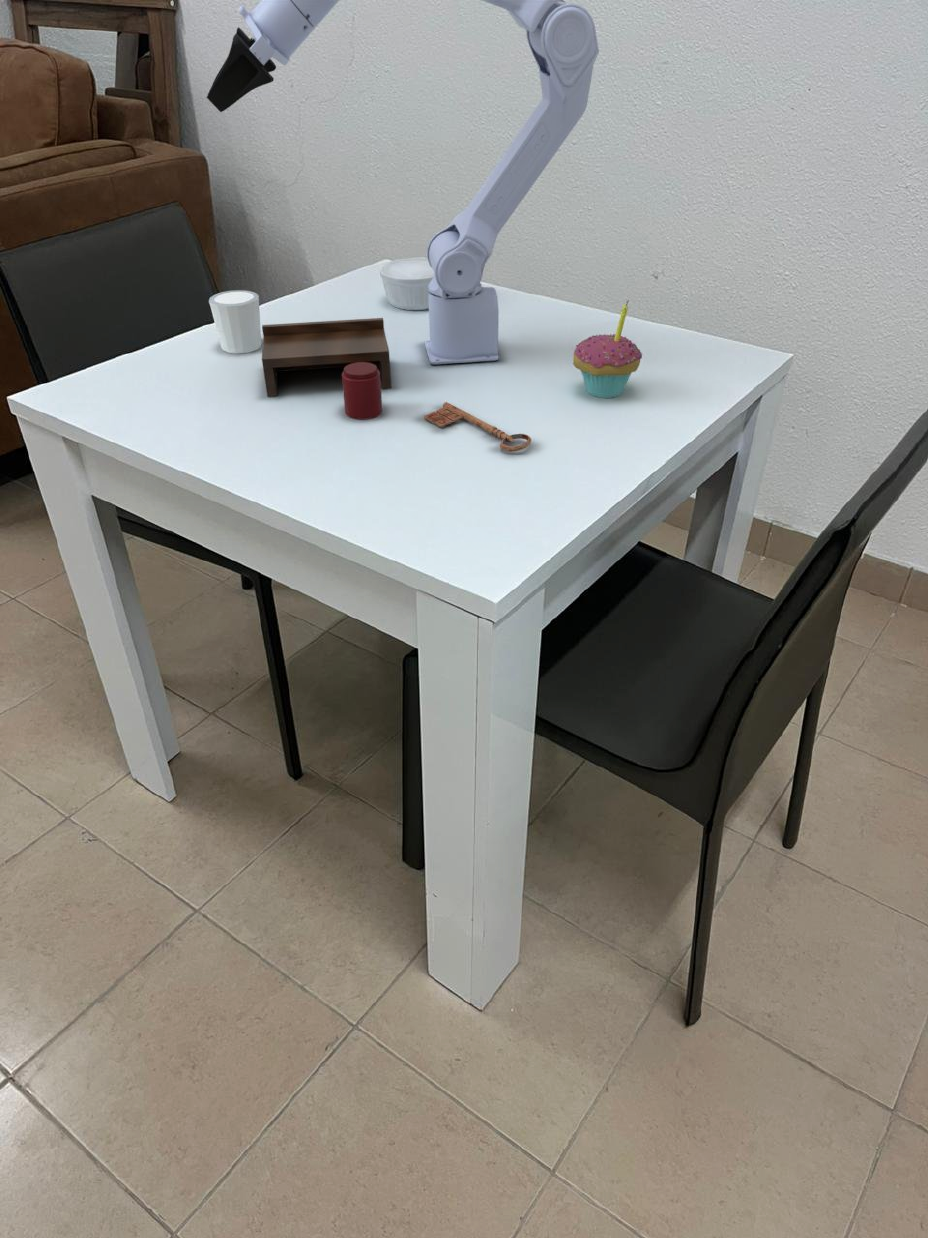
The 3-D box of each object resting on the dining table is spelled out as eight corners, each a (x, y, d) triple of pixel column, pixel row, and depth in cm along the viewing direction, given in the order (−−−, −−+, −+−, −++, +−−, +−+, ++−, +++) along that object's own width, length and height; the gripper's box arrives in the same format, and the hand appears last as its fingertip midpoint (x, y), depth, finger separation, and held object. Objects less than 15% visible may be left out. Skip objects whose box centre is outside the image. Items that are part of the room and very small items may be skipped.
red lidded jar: (380, 402, 117) (377, 359, 113) (383, 417, 113) (380, 374, 110) (344, 404, 116) (340, 362, 113) (346, 420, 113) (342, 376, 109)
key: (421, 419, 113) (498, 462, 104) (420, 412, 113) (498, 455, 103) (458, 402, 116) (537, 444, 106) (457, 396, 115) (537, 437, 106)
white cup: (271, 338, 135) (264, 289, 131) (258, 355, 130) (250, 305, 125) (225, 336, 136) (217, 288, 131) (210, 354, 130) (201, 304, 126)
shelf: (385, 362, 127) (383, 317, 124) (391, 388, 120) (388, 341, 116) (268, 369, 125) (262, 324, 122) (267, 396, 118) (260, 349, 115)
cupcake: (645, 384, 121) (655, 291, 113) (626, 409, 114) (636, 313, 107) (582, 373, 123) (589, 282, 116) (560, 397, 117) (566, 303, 110)
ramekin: (374, 311, 144) (372, 276, 141) (390, 288, 152) (388, 255, 149) (444, 314, 142) (444, 279, 139) (457, 291, 151) (456, 258, 148)
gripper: (269, -31, 106) (193, 61, 110) (267, -25, 95) (182, 78, 99) (315, 23, 110) (239, 110, 114) (318, 35, 99) (233, 131, 103)
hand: (215, 99), depth 107 cm, fingers open, 7 cm apart
